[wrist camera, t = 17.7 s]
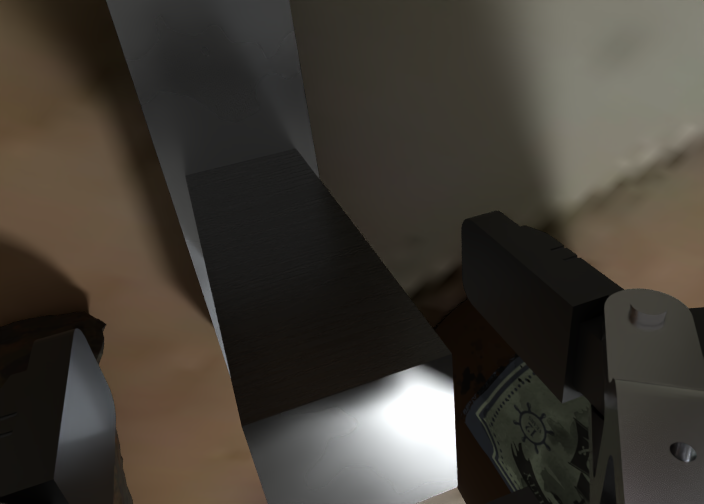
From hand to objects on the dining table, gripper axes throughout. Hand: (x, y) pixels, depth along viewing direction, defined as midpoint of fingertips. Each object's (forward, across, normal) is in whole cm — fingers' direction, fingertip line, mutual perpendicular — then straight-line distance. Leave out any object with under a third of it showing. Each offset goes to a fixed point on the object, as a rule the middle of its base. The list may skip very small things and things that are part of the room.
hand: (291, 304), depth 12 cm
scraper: (+8, 0, 0) cm, 8 cm away
